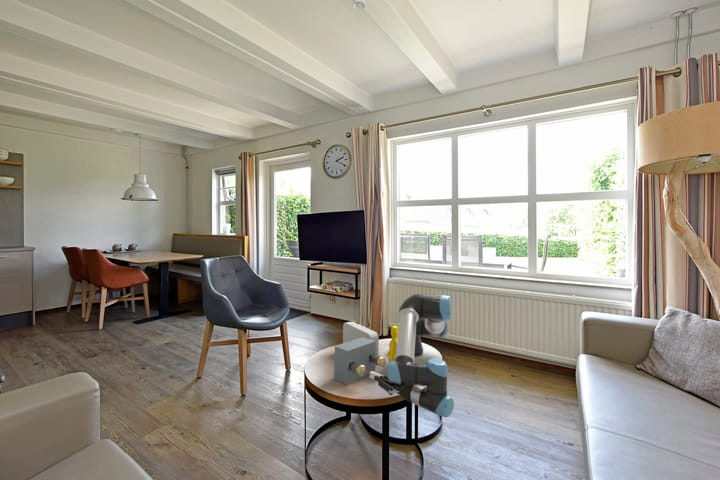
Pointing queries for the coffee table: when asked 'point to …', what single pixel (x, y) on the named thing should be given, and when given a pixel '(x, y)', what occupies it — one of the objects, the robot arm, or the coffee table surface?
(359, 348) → the knob housing
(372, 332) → the rounded white slab
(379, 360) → the knob
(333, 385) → the coffee table surface
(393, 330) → the figure statuette
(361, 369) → the knob
